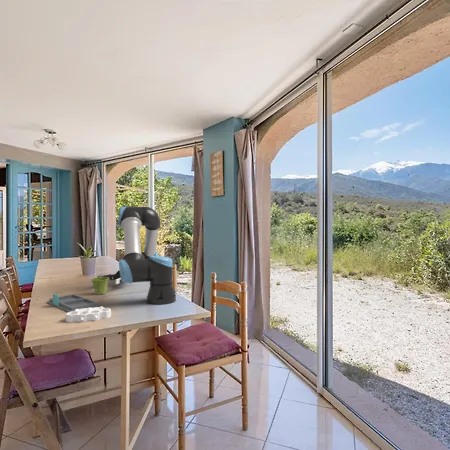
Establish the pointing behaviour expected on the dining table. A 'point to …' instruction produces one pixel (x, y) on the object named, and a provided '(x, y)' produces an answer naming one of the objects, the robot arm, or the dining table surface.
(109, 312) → the knuckle duster
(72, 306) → the tray
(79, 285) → the dining table surface
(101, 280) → the plant pot
